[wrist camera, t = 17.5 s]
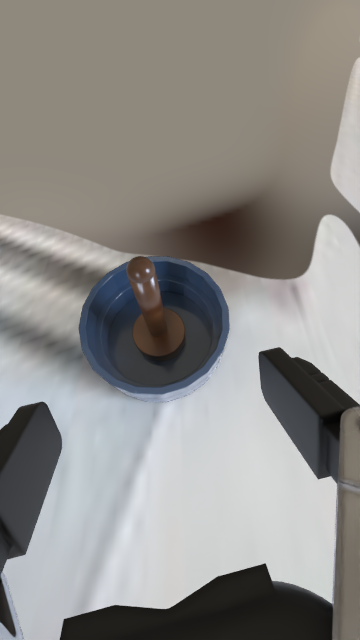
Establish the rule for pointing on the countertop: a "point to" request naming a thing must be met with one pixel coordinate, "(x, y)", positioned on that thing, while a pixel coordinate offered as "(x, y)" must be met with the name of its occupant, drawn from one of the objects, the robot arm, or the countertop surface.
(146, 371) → the bowl
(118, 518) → the countertop surface
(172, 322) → the brown stamp
